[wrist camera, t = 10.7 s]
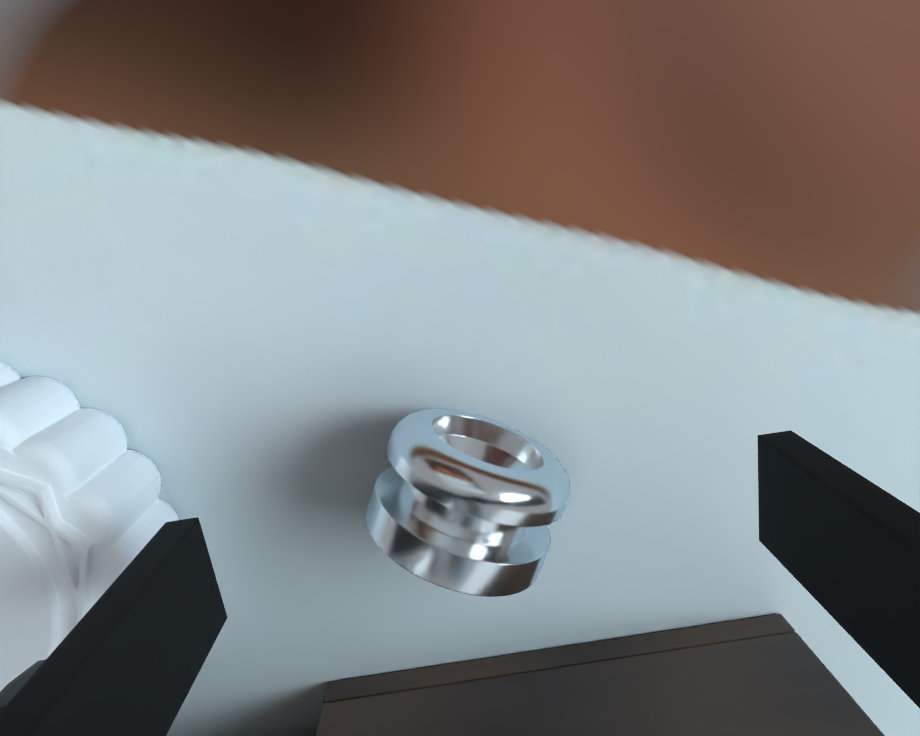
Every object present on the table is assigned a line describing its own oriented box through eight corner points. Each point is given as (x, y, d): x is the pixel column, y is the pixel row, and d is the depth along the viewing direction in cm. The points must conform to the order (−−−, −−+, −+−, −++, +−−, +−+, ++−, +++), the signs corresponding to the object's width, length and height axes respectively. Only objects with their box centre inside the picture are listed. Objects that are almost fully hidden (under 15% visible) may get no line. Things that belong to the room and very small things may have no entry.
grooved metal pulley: (374, 473, 19) (354, 564, 14) (402, 386, 18) (390, 451, 13) (524, 515, 19) (554, 617, 14) (557, 433, 19) (600, 511, 14)
